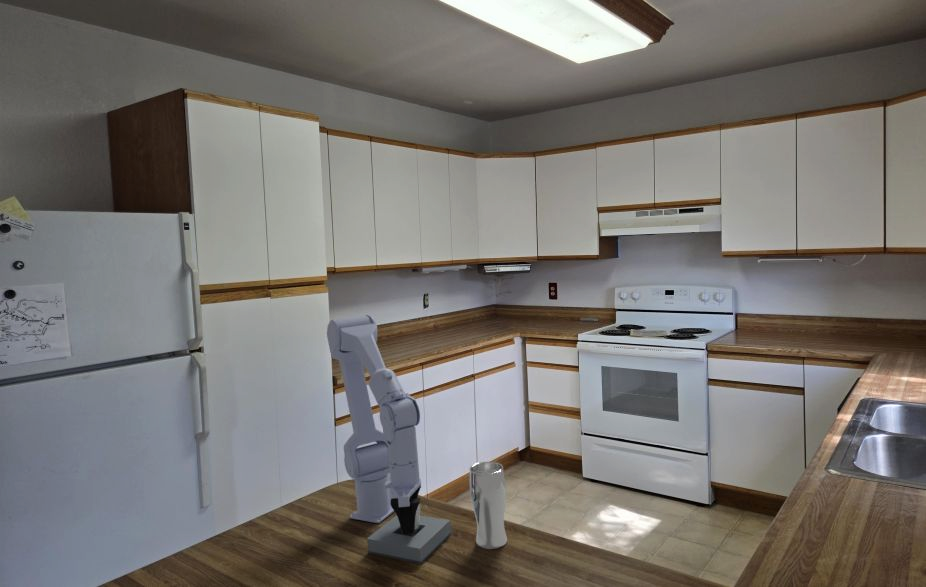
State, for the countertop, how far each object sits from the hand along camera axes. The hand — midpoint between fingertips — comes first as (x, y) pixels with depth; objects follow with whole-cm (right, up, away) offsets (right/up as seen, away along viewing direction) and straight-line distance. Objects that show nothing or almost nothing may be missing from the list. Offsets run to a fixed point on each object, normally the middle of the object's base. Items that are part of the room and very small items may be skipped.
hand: (409, 526), depth 124 cm
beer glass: (+16, -3, -1) cm, 17 cm away
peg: (0, -3, 0) cm, 3 cm away
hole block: (0, -4, 0) cm, 4 cm away
